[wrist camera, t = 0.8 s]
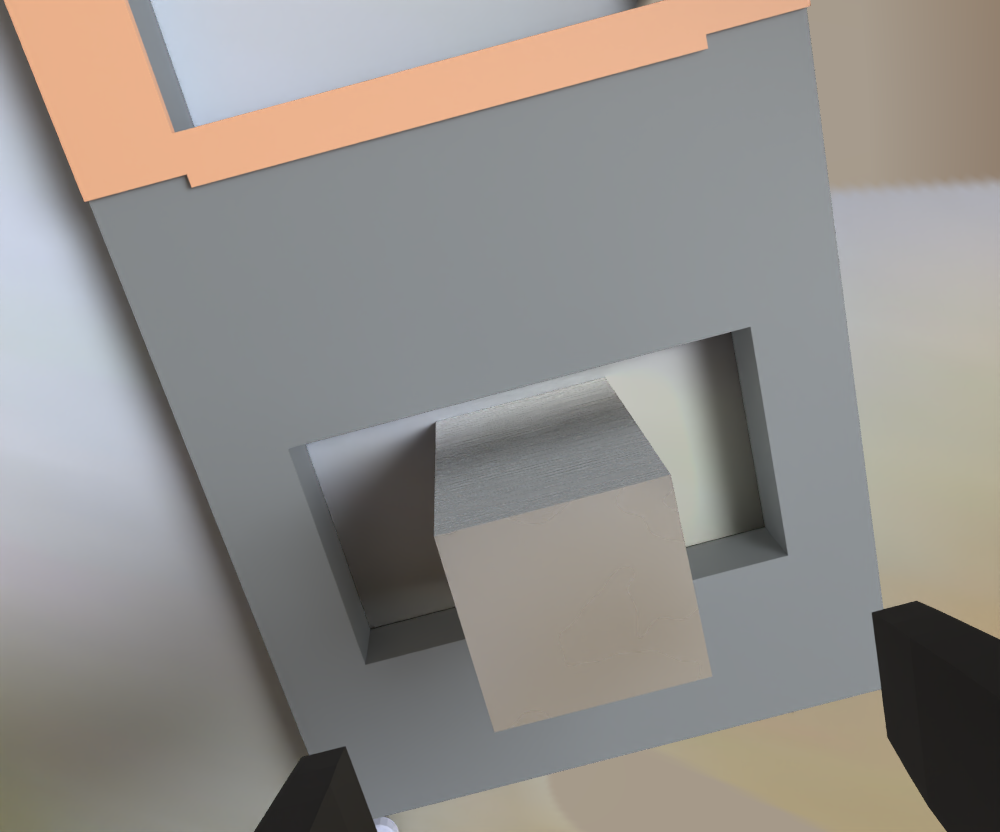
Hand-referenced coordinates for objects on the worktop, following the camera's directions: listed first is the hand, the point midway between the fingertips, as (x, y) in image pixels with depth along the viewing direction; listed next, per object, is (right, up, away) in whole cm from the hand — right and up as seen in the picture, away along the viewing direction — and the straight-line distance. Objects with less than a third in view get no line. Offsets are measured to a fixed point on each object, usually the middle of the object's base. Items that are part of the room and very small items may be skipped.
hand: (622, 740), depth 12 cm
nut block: (-1, +3, +9) cm, 10 cm away
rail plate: (-2, +8, +7) cm, 11 cm away
